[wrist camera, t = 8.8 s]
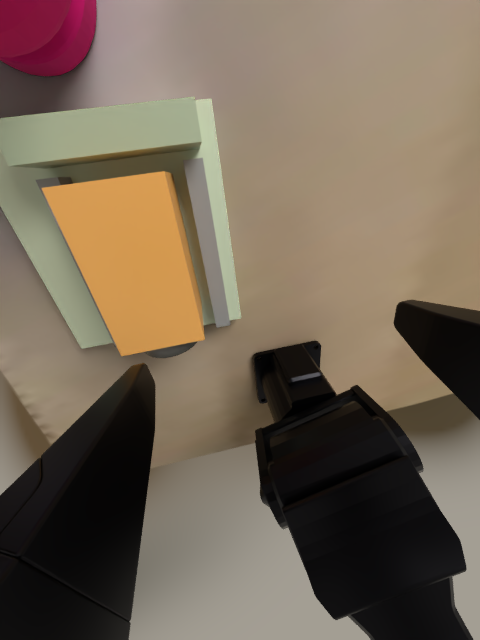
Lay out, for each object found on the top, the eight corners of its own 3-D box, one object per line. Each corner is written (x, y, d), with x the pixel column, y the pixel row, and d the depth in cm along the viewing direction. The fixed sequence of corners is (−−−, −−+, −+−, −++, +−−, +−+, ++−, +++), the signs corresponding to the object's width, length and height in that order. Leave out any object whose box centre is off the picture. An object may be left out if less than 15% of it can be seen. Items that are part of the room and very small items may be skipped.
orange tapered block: (204, 315, 18) (208, 356, 14) (144, 326, 18) (129, 372, 14) (172, 173, 14) (164, 171, 9) (89, 185, 13) (41, 188, 9)
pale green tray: (238, 309, 20) (249, 339, 16) (88, 337, 19) (63, 377, 15) (209, 105, 14) (216, 77, 10) (-21, 132, 13) (-114, 112, 9)
